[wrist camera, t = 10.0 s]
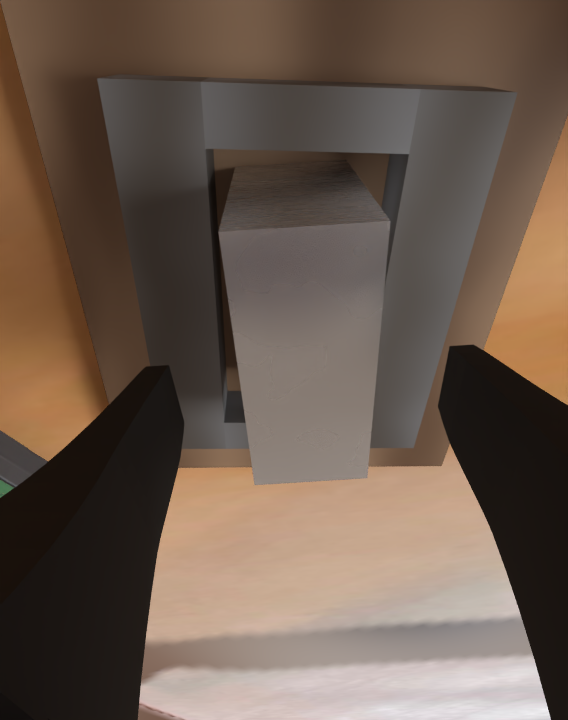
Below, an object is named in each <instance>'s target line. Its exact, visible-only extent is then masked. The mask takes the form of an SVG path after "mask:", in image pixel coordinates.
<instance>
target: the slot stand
mask: <svg viewBox="0 0 568 720" xmlns="http://www.w3.org/2000/svg"><path fill="white" fill-rule="evenodd" d="M0 3H1V6H2V10H3V14H4V17H5V21H6V25H7V28H8V32H9V36H10V40H11V43H12V47H13V51H14V54H15V58H16V62H17V65H18V69H19V73H20V77H21V80H22V84H23V88H24V91H25V95H26V99H27V102H28V106H29V110H30V114H31V117H32V121H33V125H34V128H35V132H36V136H37V139H38V143H39V147H40V151H41V154H42V158H43V162H44V165H45V169H46V173H47V176H48V180H49V184H50V188H51V191H52V195H53V199H54V202H55V206H56V210H57V213H58V217H59V221H60V224H61V228H62V232H63V236H64V239H65V243H66V247H67V250H68V254H69V258H70V261H71V265H72V269H73V273H74V276H75V280H76V284H77V287H78V291H79V295H80V298H81V302H82V306H83V310H84V313H85V317H86V321H87V324H88V328H89V332H90V335H91V339H92V343H93V347H94V350H95V354H96V358H97V361H98V365H99V369H100V372H101V376H102V380H103V384H104V387H105V391H106V395H107V398H108V402H109V404H110V403H111V402H112V401H113V400H114V399H115V398H116V397H117V396H118V395H119V394H120V393H121V392H122V391H123V390H124V389H125V388H126V386H127V385H128V384H129V383H130V382H131V381H132V380H133V379H134V378H135V377H136V376H137V375H138V374H139V373H140V372H141V371H142V370H143V369H144V368H145V367H146V366H161V365H169V367H170V371H171V374H172V378H173V382H174V385H175V389H176V393H177V397H178V400H179V404H180V408H181V412H182V415H183V419H184V433H183V443H182V450H181V458H180V462H179V466H178V468H209V467H252V463H251V456H250V449H249V442H248V435H247V428H246V421H245V414H244V407H243V400H242V393H241V386H240V379H239V372H238V365H237V358H236V351H235V344H234V337H233V330H232V323H231V316H230V309H229V302H228V295H227V288H226V282H225V275H224V268H223V261H222V254H221V247H220V240H219V233H218V231H219V228H220V224H221V220H222V216H223V212H224V208H225V204H226V201H227V197H228V193H229V189H230V185H231V181H232V177H233V174H234V170H235V167H240V166H255V165H271V164H286V163H302V162H318V161H333V160H347V162H348V163H349V164H350V166H351V167H352V169H353V170H354V171H355V173H356V174H357V175H358V177H359V178H360V180H361V181H362V182H363V184H364V185H365V186H366V188H367V189H368V191H369V192H370V193H371V195H372V196H373V197H374V199H375V200H376V202H377V203H378V204H379V206H380V207H381V209H382V210H383V211H384V213H385V214H386V215H387V217H388V218H389V220H390V232H389V243H388V254H387V265H386V276H385V287H384V298H383V309H382V320H381V331H380V342H379V353H378V364H377V375H376V387H375V398H374V409H373V420H372V431H371V442H370V453H369V464H368V466H442V463H443V461H444V458H445V455H446V452H447V449H448V447H449V444H450V442H449V440H448V437H447V434H446V431H445V428H444V425H443V422H442V419H441V415H440V412H439V409H438V402H439V397H440V392H441V387H442V382H443V377H444V372H445V367H446V361H447V356H448V351H449V346H458V345H473V344H474V345H475V346H477V347H479V348H480V349H482V350H483V349H484V347H485V344H486V341H487V338H488V335H489V333H490V330H491V327H492V324H493V321H494V319H495V316H496V313H497V310H498V308H499V305H500V302H501V299H502V296H503V294H504V291H505V288H506V285H507V283H508V280H509V277H510V274H511V271H512V269H513V266H514V263H515V260H516V257H517V255H518V252H519V249H520V246H521V244H522V241H523V238H524V235H525V232H526V230H527V227H528V224H529V221H530V219H531V216H532V213H533V210H534V207H535V205H536V202H537V199H538V196H539V193H540V191H541V188H542V185H543V182H544V180H545V177H546V174H547V171H548V168H549V166H550V163H551V160H552V157H553V155H554V152H555V149H556V146H557V143H558V141H559V138H560V135H561V132H562V129H563V127H564V124H565V121H566V118H567V116H568V0H0Z"/></svg>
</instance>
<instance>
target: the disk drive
mask: <svg viewBox="0 0 568 720" xmlns="http://www.w3.org/2000/svg"><path fill="white" fill-rule="evenodd" d="M47 462H48V461H46V460H45V459H43V458H42V457H40V456H38V455H37V454H35V453H33V452H32V451H30V450H29V449H28V448H26V447H25V446H23V445H22V444H20V443H19V442H17V441H16V440H14V439H13V438H11V437H10V436H8V435H6V434H5V433H3V432H2V431H0V498H1V497H2V496H3V495H5V494H6V493H8V492H9V491H11V490H12V489H13V488H15V487H16V486H18V485H19V484H20V483H22V482H23V481H24V480H26V479H27V478H28V477H30V476H31V475H32V474H33V473H35V472H36V471H37V470H38V469H40V468H41V467H42V466H44V465H45V464H46V463H47Z"/></svg>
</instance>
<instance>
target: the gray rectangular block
mask: <svg viewBox="0 0 568 720" xmlns="http://www.w3.org/2000/svg"><path fill="white" fill-rule="evenodd" d="M389 232H390V220H389V218H388V217H387V215H386V214H385V213H384V211H383V210H382V209H381V207H380V206H379V204H378V203H377V202H376V200H375V199H374V197H373V196H372V195H371V193H370V192H369V191H368V189H367V188H366V186H365V185H364V184H363V182H362V181H361V180H360V178H359V177H358V175H357V174H356V173H355V171H354V170H353V169H352V167H351V166H350V164H349V163H348V162H347V160H333V161H318V162H302V163H286V164H271V165H255V166H240V167H235V170H234V174H233V177H232V181H231V185H230V189H229V193H228V197H227V201H226V204H225V208H224V212H223V216H222V220H221V224H220V228H219V231H218V233H219V240H220V247H221V254H222V261H223V268H224V275H225V282H226V288H227V295H228V302H229V309H230V316H231V323H232V330H233V337H234V344H235V351H236V358H237V365H238V372H239V379H240V386H241V393H242V400H243V407H244V414H245V421H246V428H247V435H248V442H249V449H250V456H251V463H252V470H253V477H254V484H255V485H264V484H280V483H296V482H312V481H329V480H345V479H361V478H367V475H368V464H369V453H370V442H371V431H372V420H373V409H374V398H375V387H376V375H377V364H378V353H379V342H380V331H381V320H382V309H383V298H384V287H385V276H386V265H387V254H388V243H389Z"/></svg>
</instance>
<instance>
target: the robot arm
mask: <svg viewBox="0 0 568 720" xmlns="http://www.w3.org/2000/svg"><path fill="white" fill-rule="evenodd" d="M438 409H439V412H440V415H441V419H442V422H443V425H444V428H445V431H446V434H447V437H448V440H449V442H450V444H451V447H452V449H453V451H454V453H455V455H456V457H457V459H458V461H459V463H460V465H461V468H462V470H463V472H464V474H465V476H466V478H467V480H468V482H469V484H470V486H471V488H472V490H473V492H474V494H475V496H476V498H477V500H478V502H479V504H480V506H481V509H482V511H483V513H484V515H485V517H486V519H487V522H488V524H489V526H490V528H491V531H492V533H493V536H494V539H495V541H496V544H497V547H498V550H499V552H500V555H501V558H502V561H503V564H504V566H505V569H506V572H507V575H508V578H509V581H510V584H511V587H512V590H513V593H514V596H515V599H516V602H517V605H518V608H519V611H520V614H521V617H522V620H523V624H524V627H525V630H526V633H527V637H528V640H529V643H530V646H531V650H532V653H533V656H534V659H535V663H536V666H537V670H538V674H539V677H540V681H541V684H542V688H543V692H544V695H545V699H546V703H547V706H548V710H549V713H550V717H551V720H568V405H566V404H565V403H563V402H561V401H560V400H558V399H557V398H555V397H553V396H552V395H550V394H548V393H547V392H545V391H544V390H542V389H541V388H539V387H538V386H536V385H534V384H533V383H531V382H530V381H528V380H527V379H525V378H524V377H522V376H521V375H519V374H518V373H516V372H515V371H513V370H512V369H510V368H509V367H508V366H506V365H505V364H503V363H502V362H500V361H499V360H497V359H496V358H494V357H493V356H491V355H490V354H488V353H487V352H485V351H484V350H482V349H480V348H479V347H477V346H475V345H474V344H473V345H458V346H449V351H448V356H447V361H446V367H445V372H444V377H443V382H442V387H441V392H440V397H439V402H438ZM183 433H184V419H183V415H182V412H181V408H180V404H179V400H178V397H177V393H176V389H175V385H174V382H173V378H172V374H171V371H170V367H169V365H161V366H146V367H145V368H144V369H143V370H142V371H141V372H140V373H139V374H138V375H137V376H136V377H135V378H134V379H133V380H132V381H131V382H130V383H129V384H128V385H127V386H126V388H125V389H124V390H123V391H122V392H121V393H120V394H119V395H118V396H117V397H116V398H115V399H114V400H113V401H112V402H111V403H110V404H109V405H108V406H107V407H106V409H105V410H104V411H103V412H102V413H101V414H100V415H99V416H98V417H97V418H96V419H95V420H94V421H93V422H92V423H91V424H89V425H88V426H87V427H86V428H85V429H84V430H83V431H82V432H81V433H80V434H79V435H78V436H77V437H76V438H75V439H73V440H72V441H71V442H70V443H69V444H68V445H67V446H66V447H65V448H64V449H63V450H61V451H60V452H59V453H58V454H57V455H56V456H54V457H53V458H52V459H51V460H50V461H48V462H47V463H46V464H45V465H44V466H42V467H41V468H40V469H38V470H37V471H36V472H35V473H33V474H32V475H31V476H30V477H28V478H27V479H26V480H24V481H23V482H22V483H20V484H19V485H18V486H16V487H15V488H13V489H12V490H11V491H9V492H8V493H6V494H5V495H3V496H2V497H1V498H0V720H138V709H139V697H140V686H141V675H142V667H143V658H144V649H145V639H146V631H147V623H148V615H149V608H150V600H151V592H152V585H153V579H154V572H155V565H156V558H157V552H158V547H159V543H160V538H161V533H162V529H163V526H164V522H165V518H166V514H167V510H168V506H169V502H170V498H171V494H172V490H173V486H174V482H175V478H176V474H177V470H178V466H179V462H180V458H181V450H182V443H183Z"/></svg>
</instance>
